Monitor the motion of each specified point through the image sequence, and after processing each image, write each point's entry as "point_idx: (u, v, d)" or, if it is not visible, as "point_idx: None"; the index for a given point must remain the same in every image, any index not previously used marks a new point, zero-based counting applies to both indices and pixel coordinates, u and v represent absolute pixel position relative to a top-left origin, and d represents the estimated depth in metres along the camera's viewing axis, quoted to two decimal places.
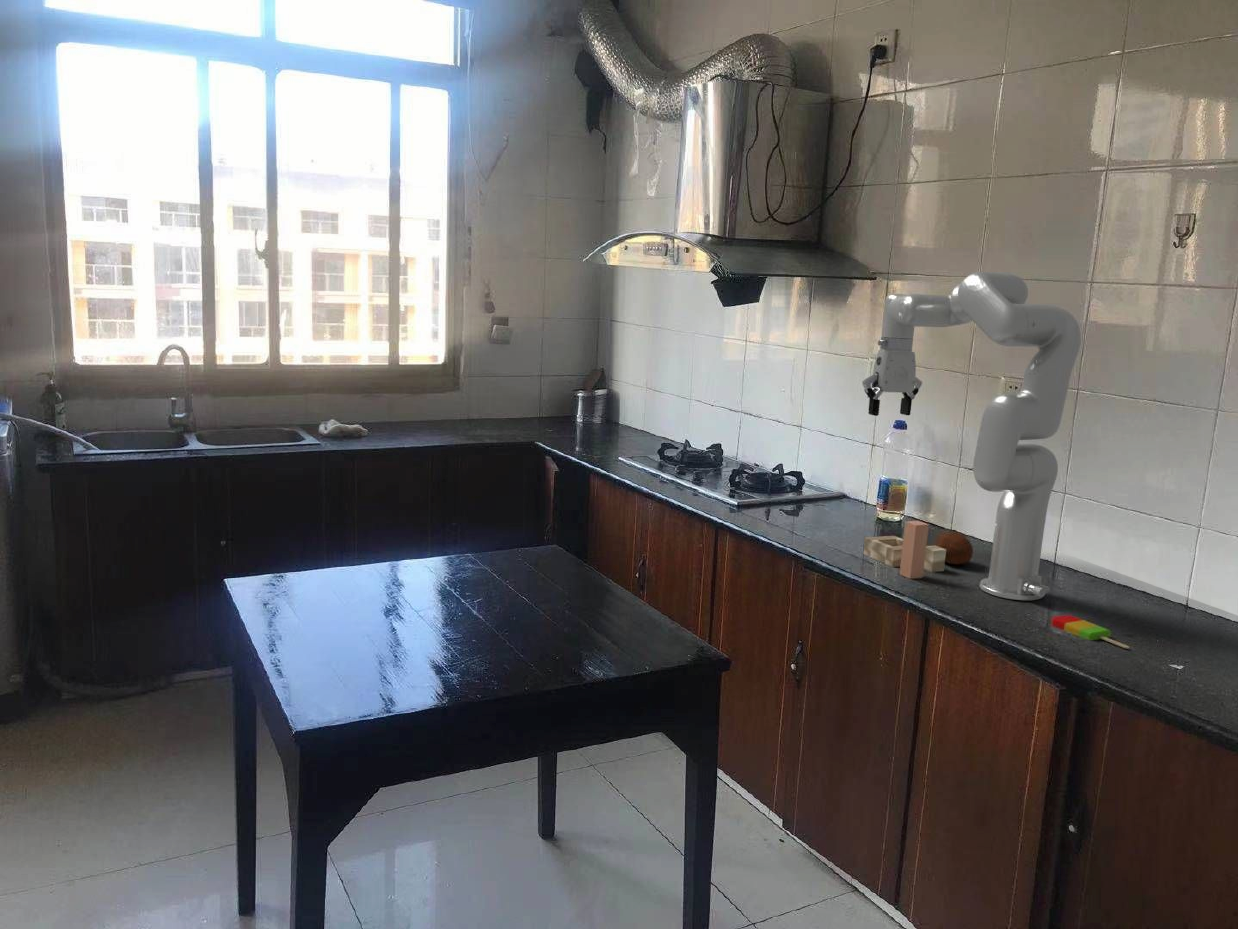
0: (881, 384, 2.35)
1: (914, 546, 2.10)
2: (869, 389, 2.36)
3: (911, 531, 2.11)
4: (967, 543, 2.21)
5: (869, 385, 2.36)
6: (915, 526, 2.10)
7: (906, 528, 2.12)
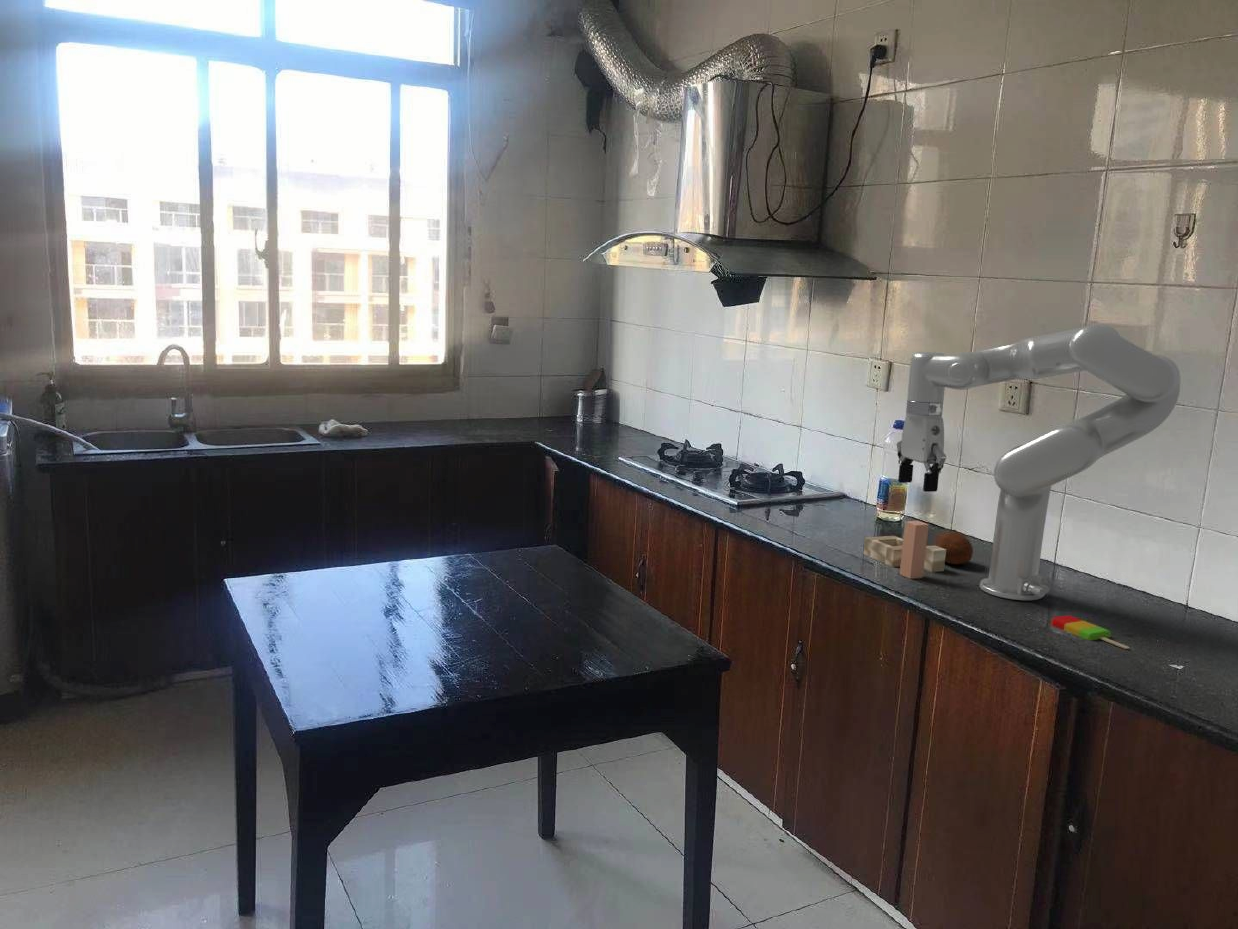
0: None
1: (914, 546, 2.10)
2: (942, 464, 2.06)
3: (911, 531, 2.11)
4: (967, 543, 2.21)
5: None
6: (915, 526, 2.10)
7: (906, 528, 2.12)
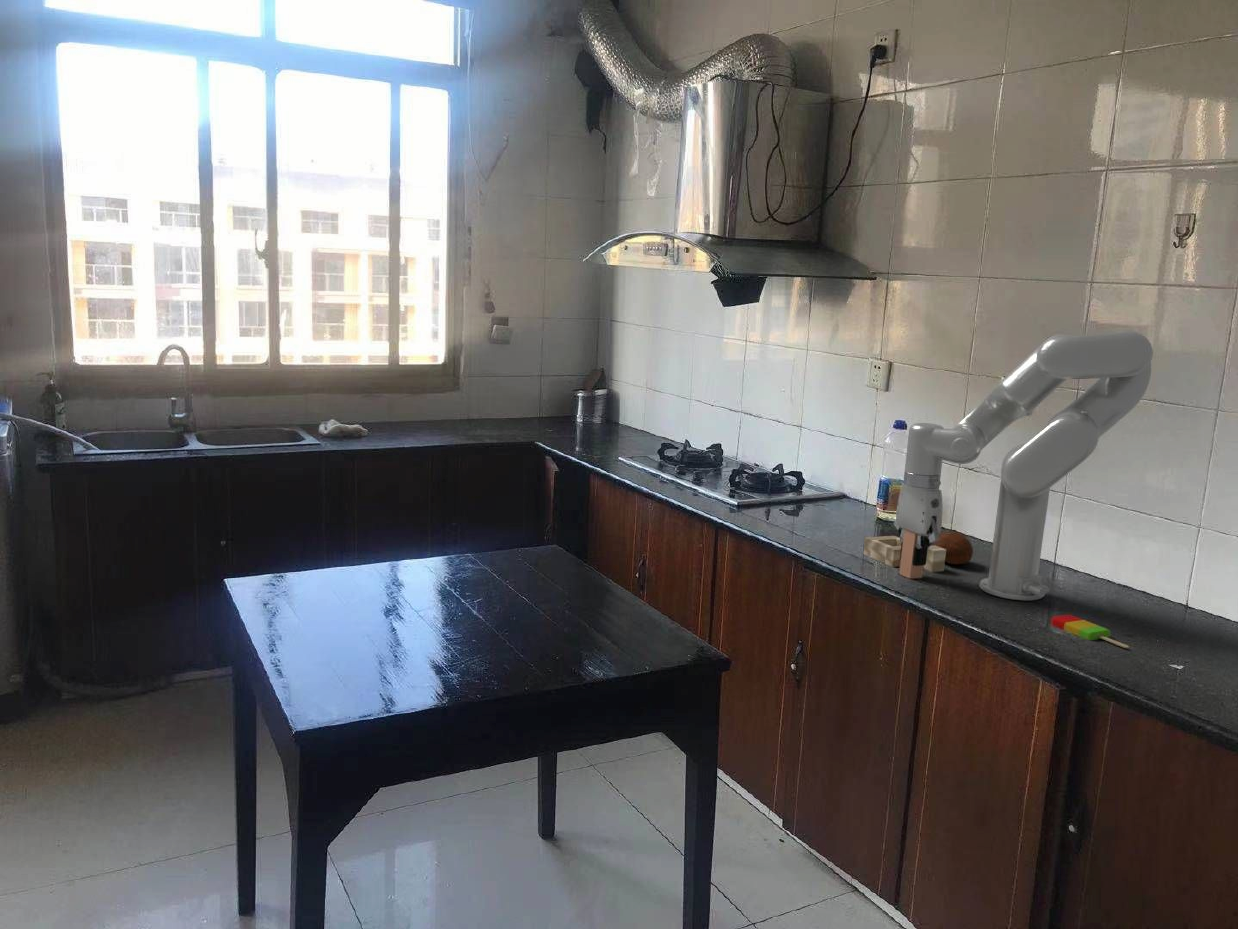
0: (940, 527, 2.08)
1: (914, 546, 2.10)
2: None
3: (911, 531, 2.11)
4: (967, 543, 2.21)
5: None
6: None
7: None
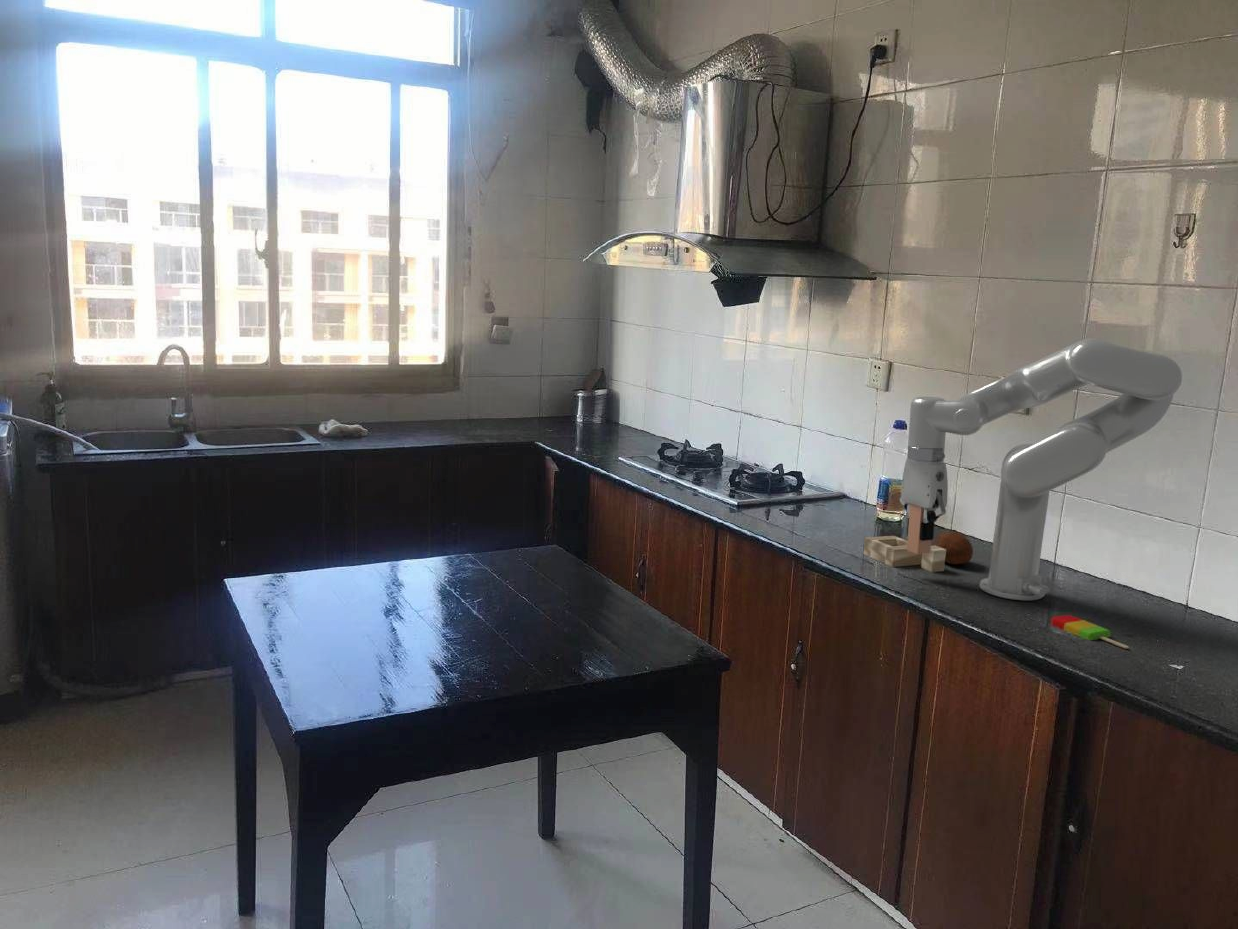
0: (946, 501, 2.07)
1: (920, 521, 2.09)
2: None
3: (917, 506, 2.09)
4: (967, 543, 2.21)
5: None
6: None
7: None
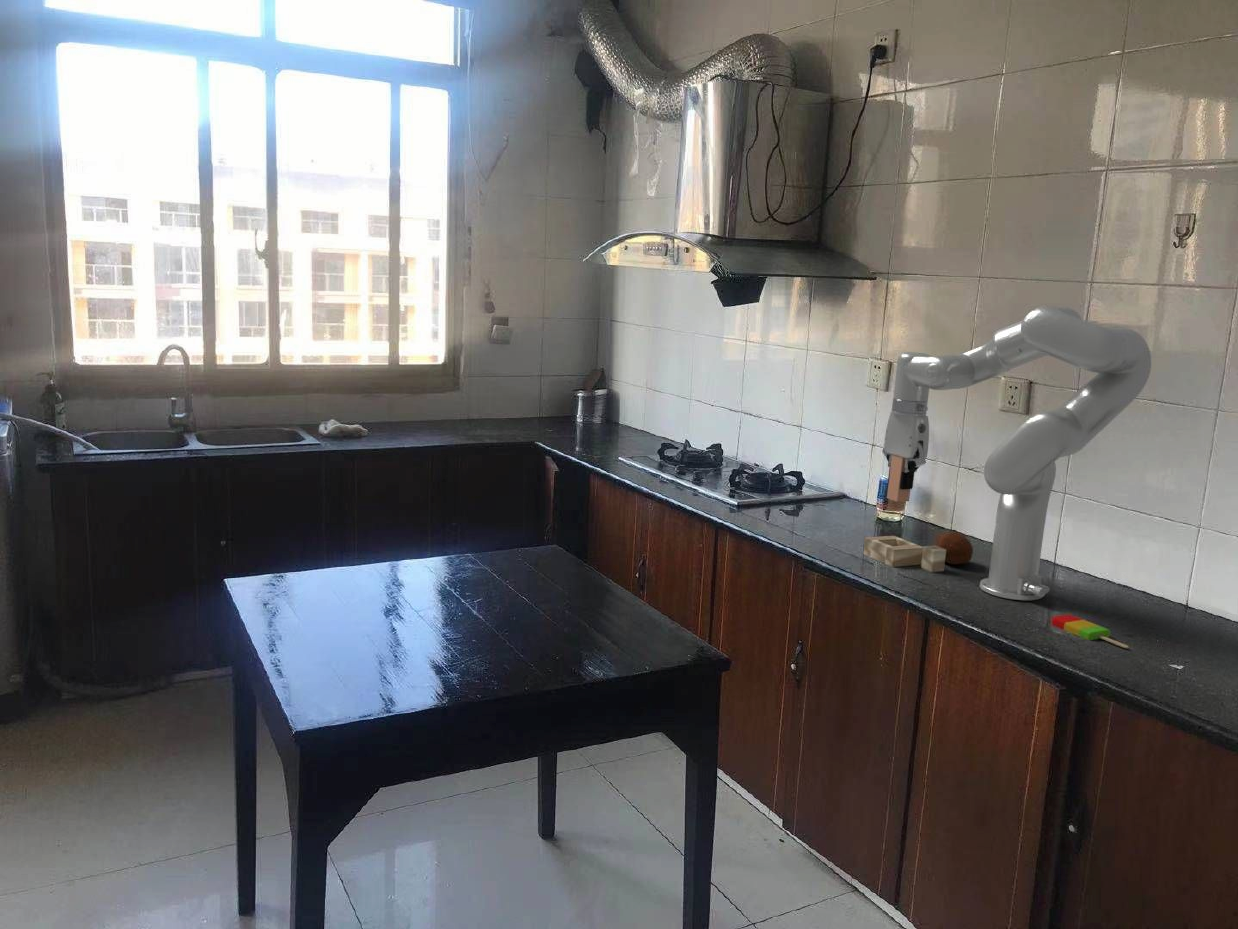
0: (926, 452, 2.17)
1: (901, 470, 2.20)
2: None
3: (898, 456, 2.20)
4: (967, 543, 2.21)
5: None
6: None
7: None
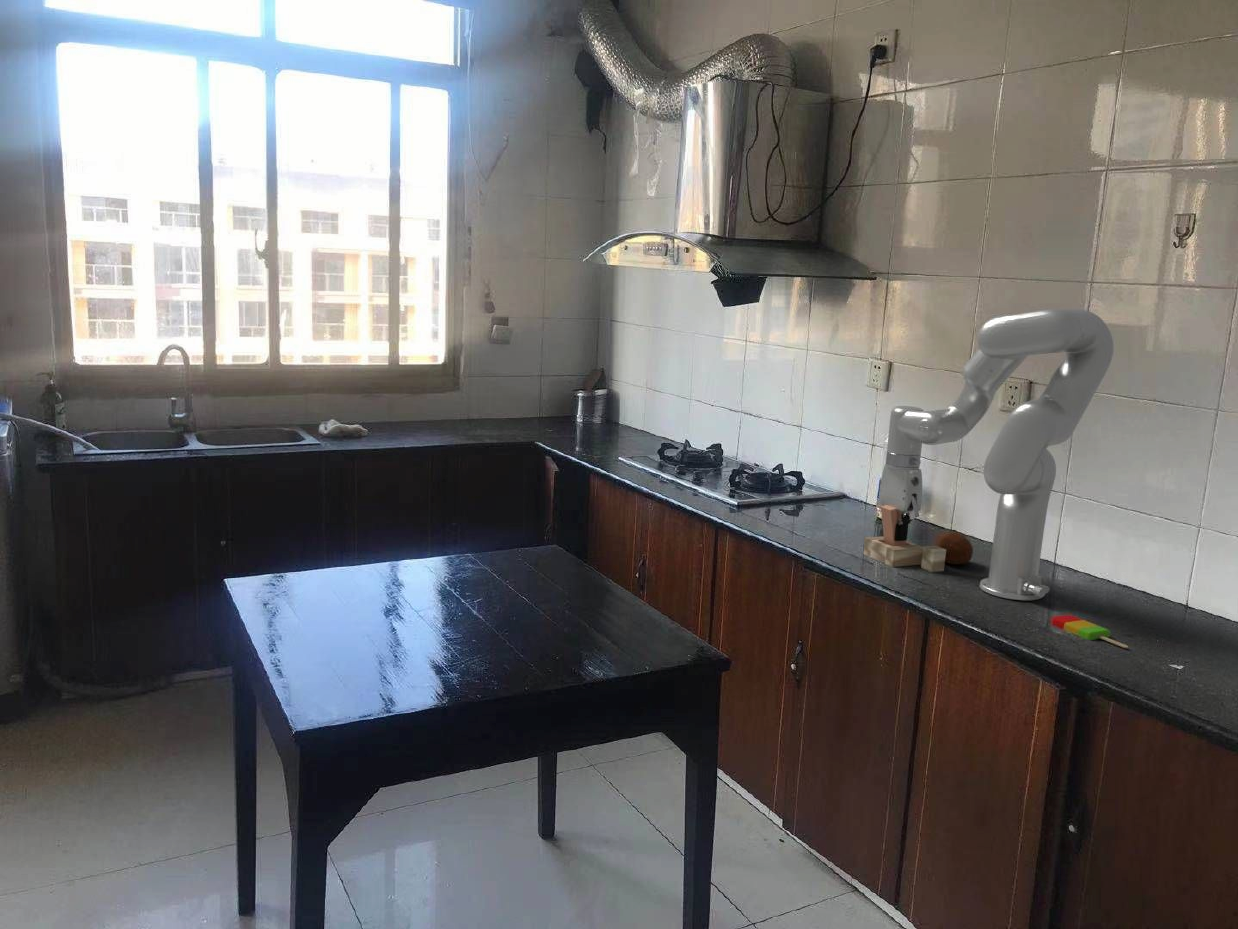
0: (920, 505, 2.20)
1: (892, 529, 2.22)
2: None
3: (887, 516, 2.23)
4: (967, 543, 2.21)
5: None
6: (890, 511, 2.21)
7: (883, 513, 2.24)
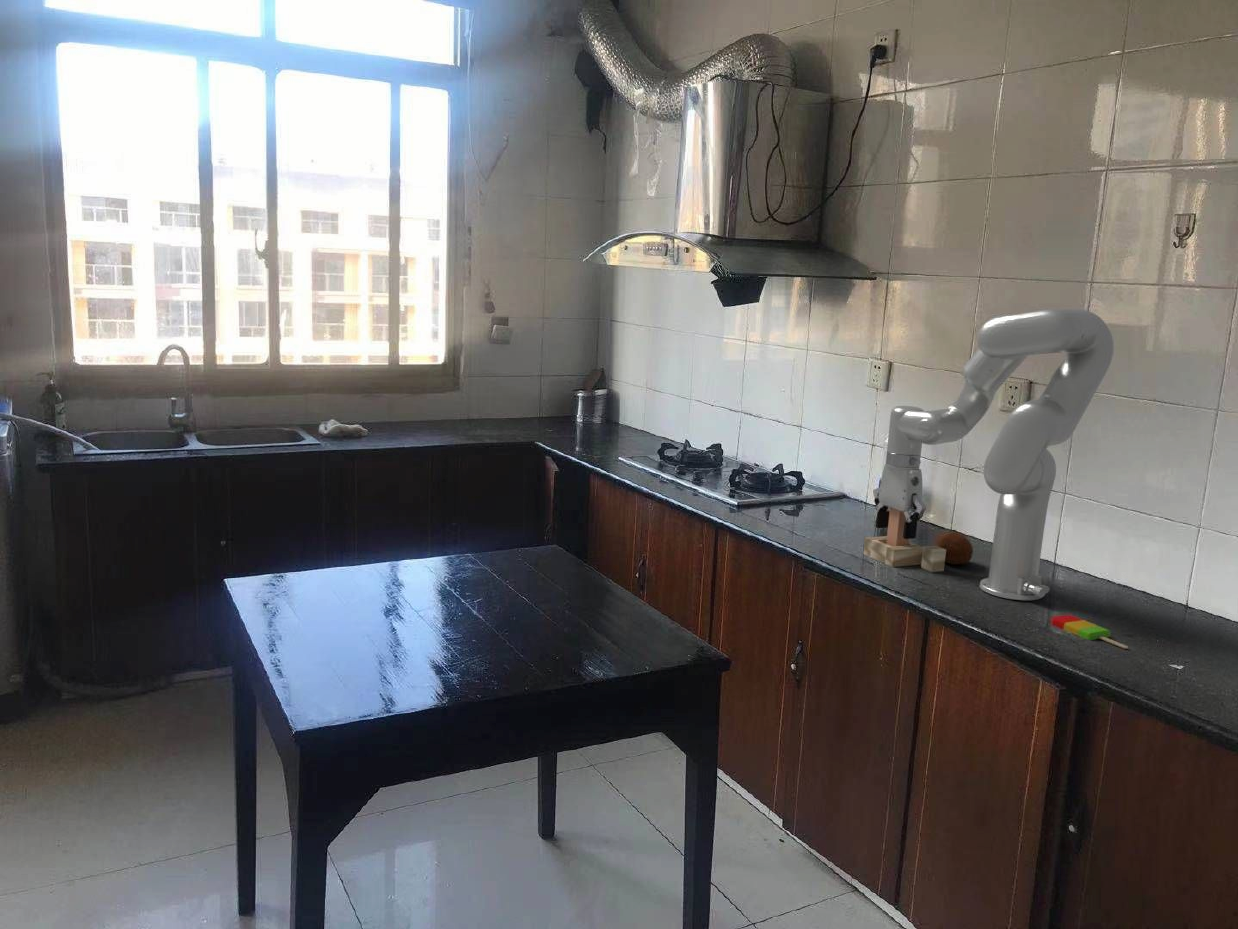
0: None
1: (898, 531, 2.23)
2: None
3: (895, 517, 2.24)
4: (967, 543, 2.21)
5: None
6: (899, 512, 2.22)
7: (891, 514, 2.25)
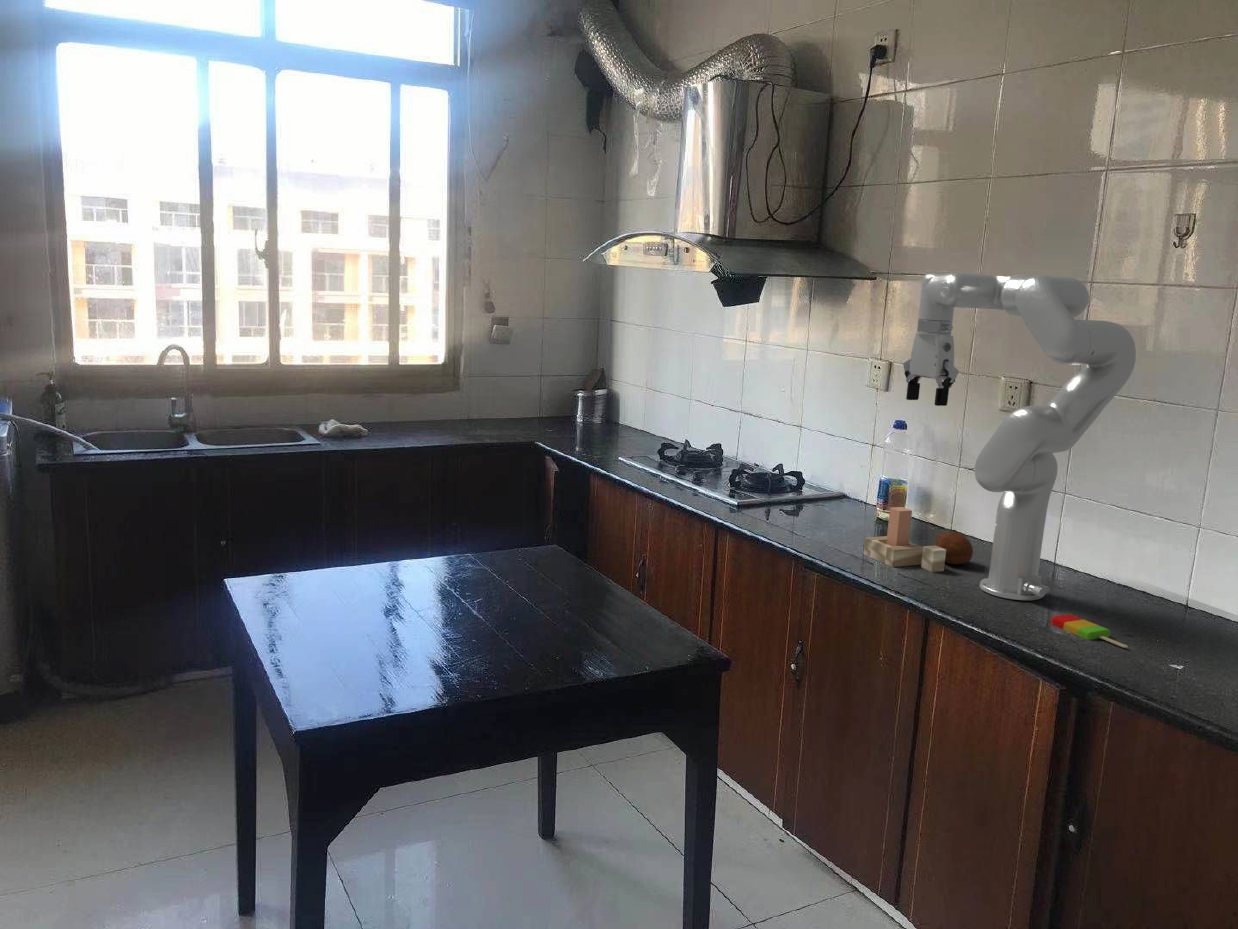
0: None
1: (898, 531, 2.23)
2: None
3: (895, 517, 2.24)
4: (967, 543, 2.21)
5: None
6: (899, 512, 2.22)
7: (891, 514, 2.25)
